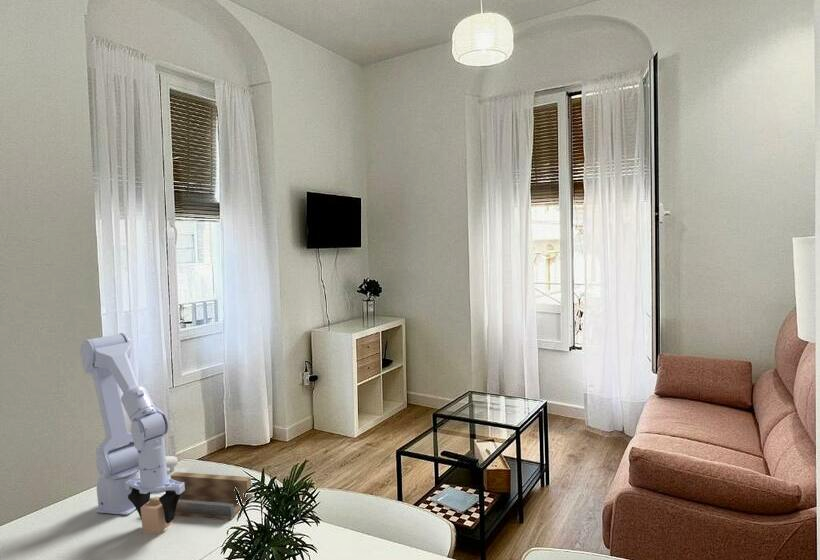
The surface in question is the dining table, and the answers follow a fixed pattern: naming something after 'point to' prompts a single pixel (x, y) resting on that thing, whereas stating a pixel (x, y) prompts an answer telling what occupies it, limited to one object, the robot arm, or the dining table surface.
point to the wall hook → (173, 466)
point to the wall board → (212, 491)
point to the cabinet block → (153, 516)
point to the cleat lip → (205, 507)
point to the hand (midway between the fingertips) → (157, 519)
